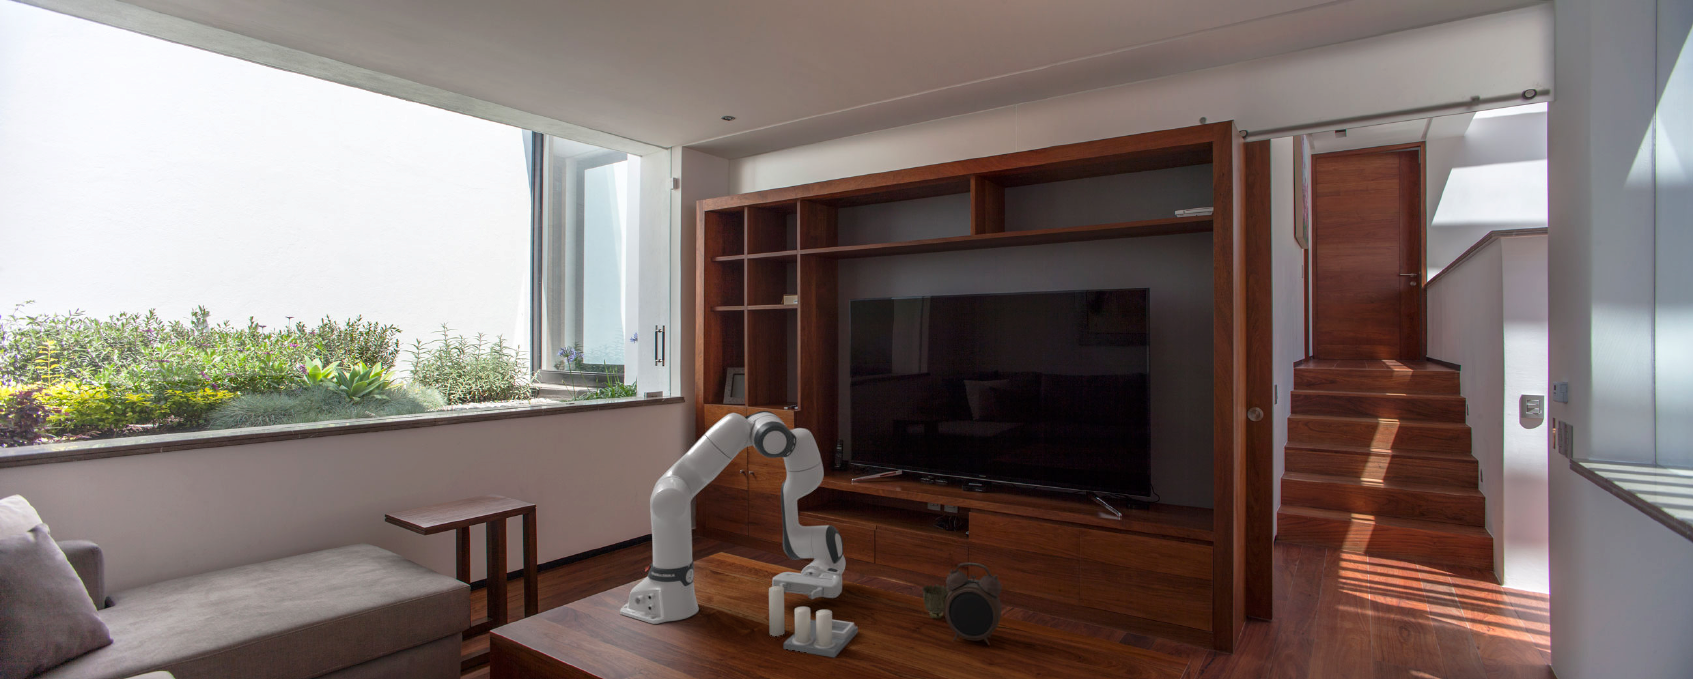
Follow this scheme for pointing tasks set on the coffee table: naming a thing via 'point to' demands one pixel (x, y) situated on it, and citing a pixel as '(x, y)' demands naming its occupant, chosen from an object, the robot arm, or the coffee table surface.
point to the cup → (935, 600)
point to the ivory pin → (776, 610)
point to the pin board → (821, 651)
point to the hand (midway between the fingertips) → (795, 594)
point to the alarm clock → (973, 604)
